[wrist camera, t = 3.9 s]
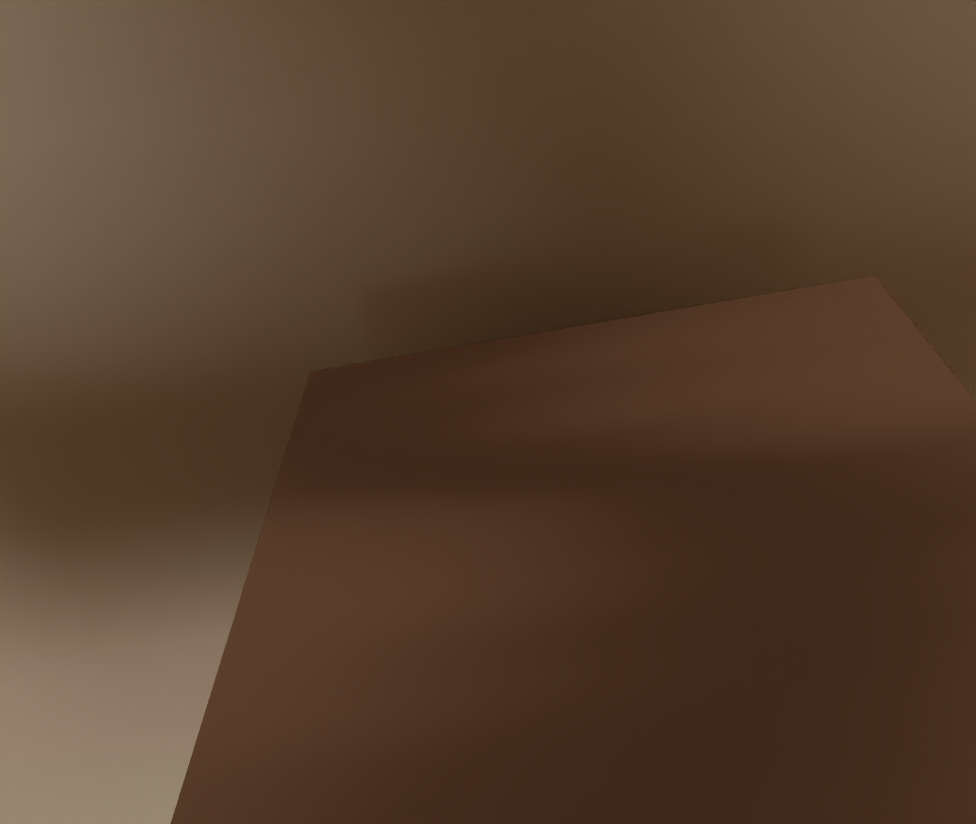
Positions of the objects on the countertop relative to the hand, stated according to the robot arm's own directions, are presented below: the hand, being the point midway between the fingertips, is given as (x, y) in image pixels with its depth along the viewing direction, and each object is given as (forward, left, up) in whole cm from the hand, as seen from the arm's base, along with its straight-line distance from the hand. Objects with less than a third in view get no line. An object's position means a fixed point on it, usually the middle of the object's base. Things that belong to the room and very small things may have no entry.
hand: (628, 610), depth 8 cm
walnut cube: (0, 0, -1) cm, 1 cm away
